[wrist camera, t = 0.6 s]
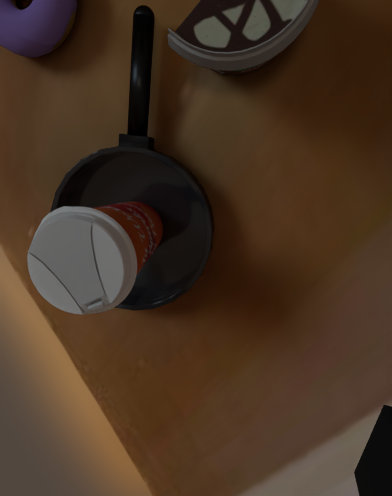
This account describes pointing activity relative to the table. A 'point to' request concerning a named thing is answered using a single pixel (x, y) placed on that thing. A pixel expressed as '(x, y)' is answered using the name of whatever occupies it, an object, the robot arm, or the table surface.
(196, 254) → the pan
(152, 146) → the pan handle
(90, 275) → the paper cup
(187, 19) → the food container
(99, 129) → the table surface
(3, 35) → the donut
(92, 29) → the table surface
